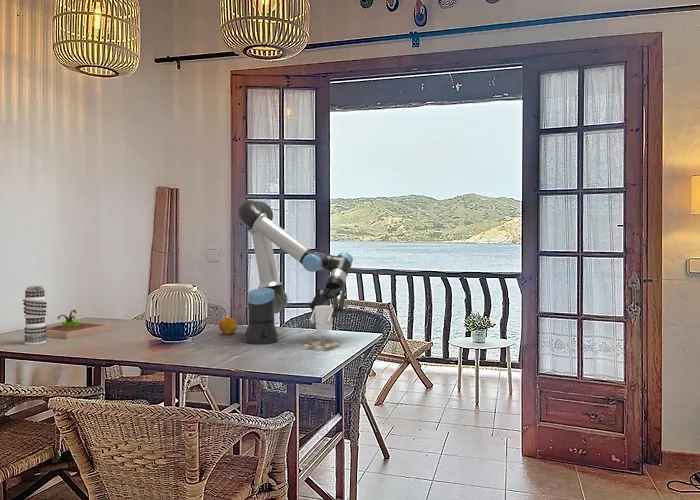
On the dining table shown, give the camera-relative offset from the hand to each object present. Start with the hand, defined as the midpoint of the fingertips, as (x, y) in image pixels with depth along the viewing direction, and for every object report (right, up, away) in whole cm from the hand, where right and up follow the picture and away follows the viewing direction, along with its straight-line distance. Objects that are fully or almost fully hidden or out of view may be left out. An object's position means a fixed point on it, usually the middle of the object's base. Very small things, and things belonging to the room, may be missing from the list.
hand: (320, 322), depth 237 cm
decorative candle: (-127, -11, +12) cm, 128 cm away
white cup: (+1, -4, +3) cm, 5 cm away
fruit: (-47, -10, +35) cm, 59 cm away
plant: (-125, -10, +39) cm, 131 cm away
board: (0, -11, +2) cm, 11 cm away
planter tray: (-124, -10, +38) cm, 130 cm away
